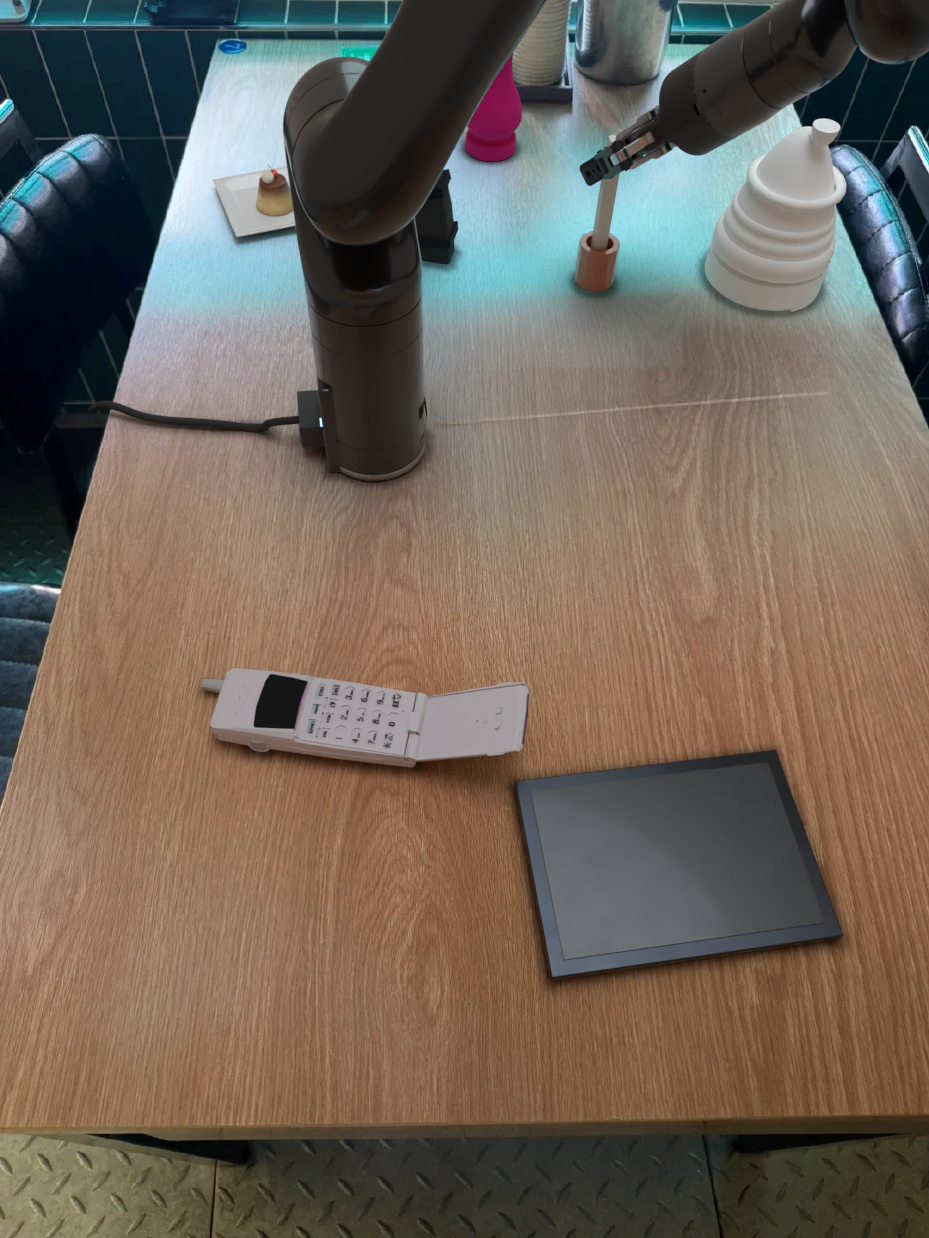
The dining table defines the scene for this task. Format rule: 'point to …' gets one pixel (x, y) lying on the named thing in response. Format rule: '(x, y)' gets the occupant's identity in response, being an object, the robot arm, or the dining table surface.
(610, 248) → the pen holder
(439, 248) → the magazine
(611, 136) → the stylus
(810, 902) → the tablet
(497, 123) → the pepper mill
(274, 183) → the dessert
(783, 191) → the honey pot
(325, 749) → the mobile phone
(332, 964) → the dining table surface
